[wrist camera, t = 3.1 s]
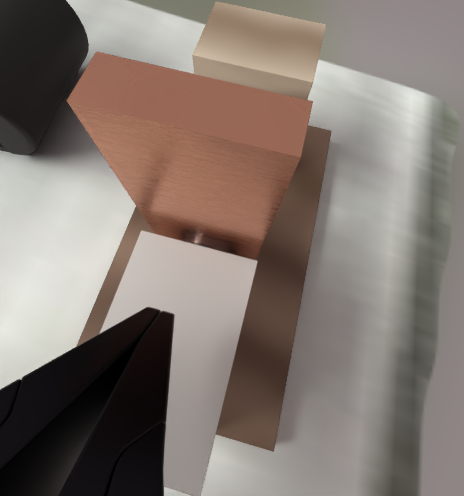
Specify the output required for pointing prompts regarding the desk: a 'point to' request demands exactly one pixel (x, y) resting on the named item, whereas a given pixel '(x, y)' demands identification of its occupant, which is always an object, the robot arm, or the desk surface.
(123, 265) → the base board
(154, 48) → the desk surface
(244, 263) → the white rectangular block
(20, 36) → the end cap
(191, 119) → the brushed copper slab
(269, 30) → the socket block
